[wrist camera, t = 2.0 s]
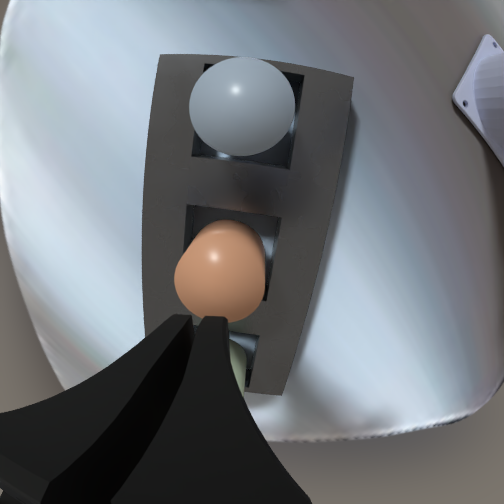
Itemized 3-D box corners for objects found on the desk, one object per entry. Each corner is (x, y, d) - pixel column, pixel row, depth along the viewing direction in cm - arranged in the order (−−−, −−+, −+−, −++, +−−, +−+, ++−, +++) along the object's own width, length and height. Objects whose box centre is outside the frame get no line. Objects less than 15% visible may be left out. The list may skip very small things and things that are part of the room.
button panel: (171, 62, 14) (159, 54, 12) (344, 84, 14) (353, 77, 12) (156, 357, 22) (148, 373, 20) (280, 377, 22) (281, 395, 20)
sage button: (188, 330, 18) (174, 367, 15) (250, 340, 18) (247, 379, 15) (187, 373, 19) (176, 409, 16) (242, 382, 20) (239, 420, 16)
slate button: (212, 72, 13) (197, 53, 9) (293, 82, 13) (301, 64, 9) (201, 147, 14) (183, 150, 11) (281, 158, 14) (286, 163, 11)
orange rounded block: (194, 214, 15) (175, 235, 12) (270, 225, 15) (272, 249, 12) (190, 282, 17) (173, 315, 13) (259, 292, 17) (257, 328, 14)
